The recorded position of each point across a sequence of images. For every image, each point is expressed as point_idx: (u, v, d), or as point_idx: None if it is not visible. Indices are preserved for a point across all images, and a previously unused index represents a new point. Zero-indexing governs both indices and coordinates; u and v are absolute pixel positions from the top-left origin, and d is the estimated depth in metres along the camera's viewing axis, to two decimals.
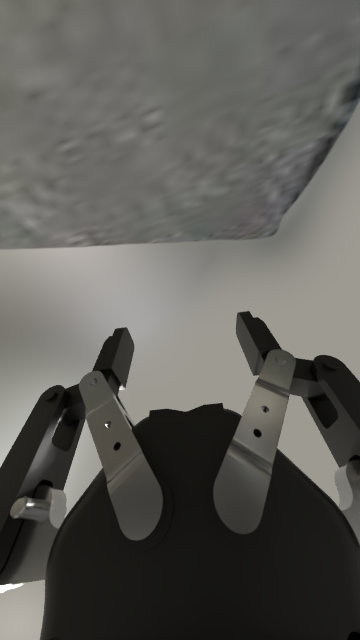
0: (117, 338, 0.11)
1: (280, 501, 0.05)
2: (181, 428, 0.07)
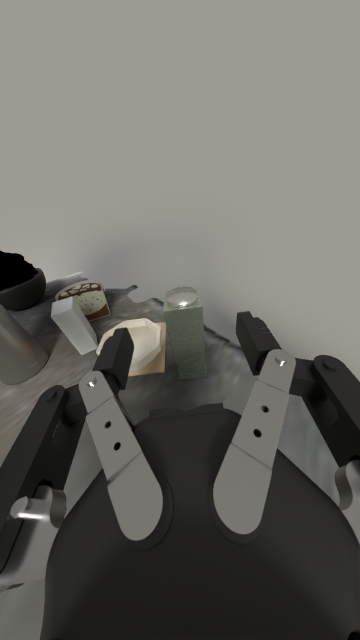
0: (117, 338, 0.11)
1: (280, 501, 0.05)
2: (181, 428, 0.07)
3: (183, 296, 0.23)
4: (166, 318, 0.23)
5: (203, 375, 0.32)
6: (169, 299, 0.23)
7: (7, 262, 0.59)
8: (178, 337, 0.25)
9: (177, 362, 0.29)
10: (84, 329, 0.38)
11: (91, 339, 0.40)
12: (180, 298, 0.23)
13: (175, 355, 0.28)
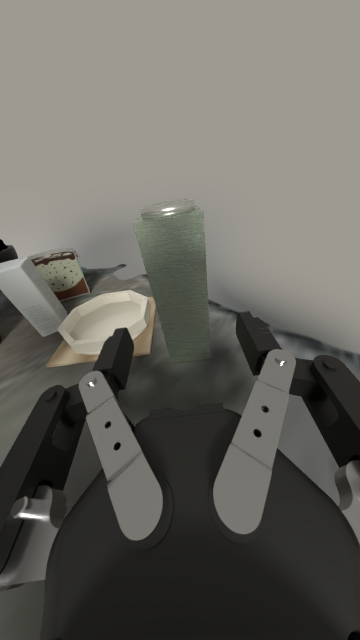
0: (117, 338, 0.11)
1: (280, 501, 0.05)
2: (181, 428, 0.07)
3: (170, 204, 0.13)
4: (140, 240, 0.13)
5: (205, 355, 0.21)
6: (145, 208, 0.13)
7: None
8: (164, 282, 0.15)
9: (165, 333, 0.19)
10: (43, 299, 0.28)
11: (55, 315, 0.30)
12: (164, 205, 0.13)
13: (161, 320, 0.18)
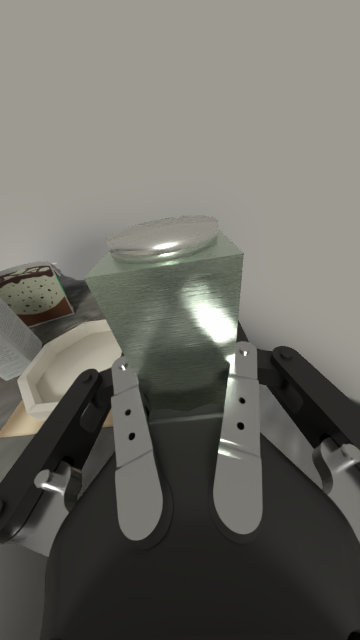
0: None
1: (280, 501, 0.05)
2: (181, 428, 0.07)
3: (168, 228, 0.07)
4: (104, 307, 0.06)
5: None
6: (117, 239, 0.06)
7: None
8: (158, 366, 0.08)
9: None
10: (1, 337, 0.21)
11: (20, 354, 0.23)
12: (155, 233, 0.06)
13: (154, 407, 0.11)
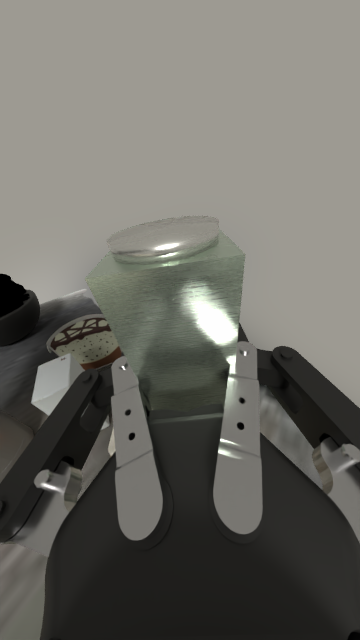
0: None
1: (280, 501, 0.05)
2: (181, 428, 0.07)
3: (169, 229, 0.07)
4: (105, 308, 0.06)
5: None
6: (118, 239, 0.06)
7: None
8: (159, 367, 0.08)
9: None
10: None
11: None
12: (157, 234, 0.06)
13: (155, 407, 0.11)
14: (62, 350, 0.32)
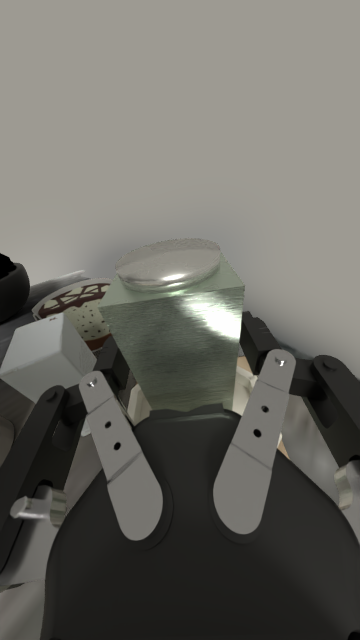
0: None
1: (280, 501, 0.05)
2: (181, 428, 0.07)
3: (173, 256, 0.07)
4: (115, 331, 0.07)
5: None
6: (126, 267, 0.07)
7: None
8: (163, 380, 0.09)
9: None
10: None
11: None
12: (162, 262, 0.07)
13: None
14: None
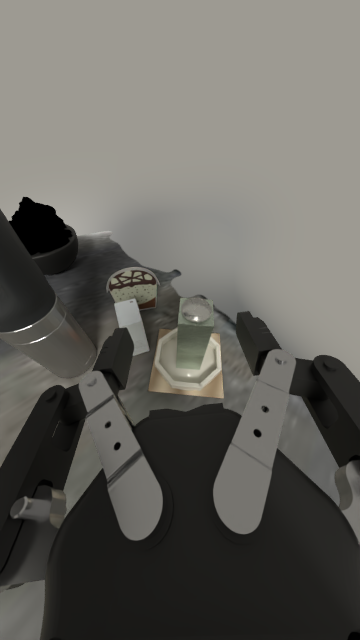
0: (117, 338, 0.11)
1: (280, 501, 0.05)
2: (181, 428, 0.07)
3: (198, 310, 0.25)
4: (178, 328, 0.25)
5: (196, 368, 0.36)
6: (185, 311, 0.25)
7: (35, 214, 0.48)
8: (185, 342, 0.28)
9: (177, 357, 0.33)
10: (144, 337, 0.35)
11: (146, 344, 0.38)
12: (195, 313, 0.25)
13: (177, 352, 0.31)
14: (116, 292, 0.41)
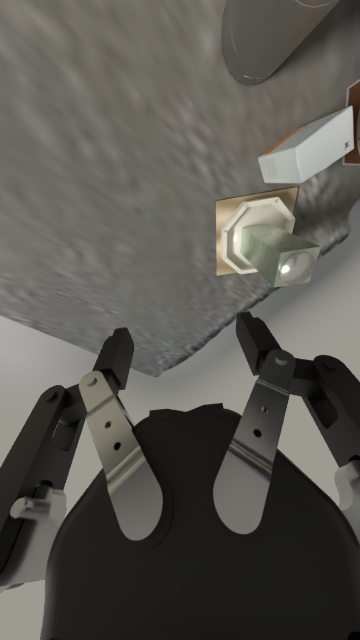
0: (117, 338, 0.11)
1: (280, 501, 0.05)
2: (181, 428, 0.07)
3: (294, 272, 0.24)
4: (276, 251, 0.23)
5: (241, 250, 0.37)
6: (295, 259, 0.22)
7: None
8: (263, 251, 0.27)
9: (251, 235, 0.31)
10: (280, 181, 0.27)
11: (271, 181, 0.29)
12: (291, 270, 0.23)
13: (255, 237, 0.30)
14: None
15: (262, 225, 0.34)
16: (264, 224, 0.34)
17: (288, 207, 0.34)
